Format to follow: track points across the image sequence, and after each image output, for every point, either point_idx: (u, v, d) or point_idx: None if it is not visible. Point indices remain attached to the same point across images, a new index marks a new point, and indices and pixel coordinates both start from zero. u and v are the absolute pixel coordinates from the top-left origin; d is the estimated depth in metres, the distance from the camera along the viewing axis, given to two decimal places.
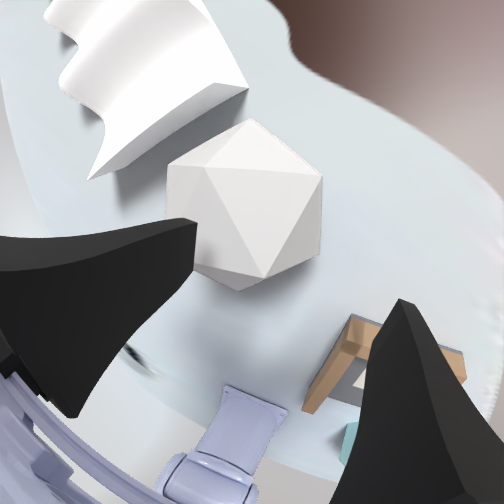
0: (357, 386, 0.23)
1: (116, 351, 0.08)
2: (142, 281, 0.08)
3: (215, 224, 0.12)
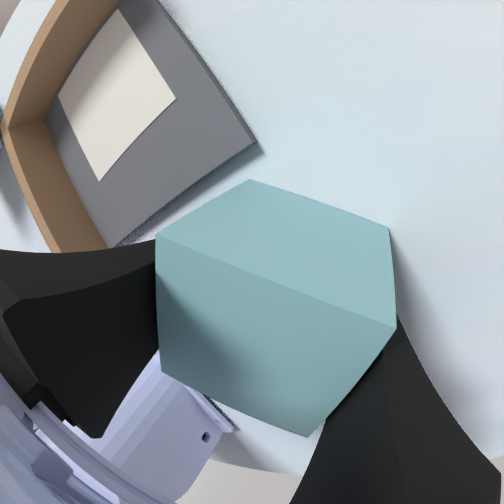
0: (103, 174, 0.12)
1: (142, 368, 0.07)
2: None
3: None
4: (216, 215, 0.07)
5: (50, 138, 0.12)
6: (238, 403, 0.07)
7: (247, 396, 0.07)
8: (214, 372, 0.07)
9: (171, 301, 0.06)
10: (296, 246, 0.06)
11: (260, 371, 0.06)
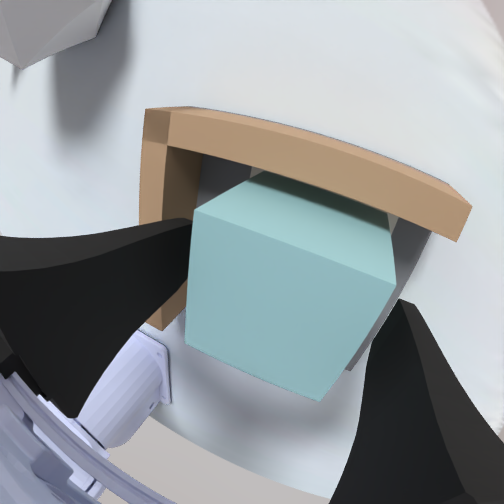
0: None
1: (116, 351, 0.08)
2: (142, 281, 0.08)
3: None
4: (242, 197, 0.08)
5: (198, 169, 0.12)
6: (257, 369, 0.09)
7: (267, 359, 0.08)
8: (238, 338, 0.08)
9: (203, 270, 0.08)
10: (311, 223, 0.07)
11: (281, 332, 0.07)
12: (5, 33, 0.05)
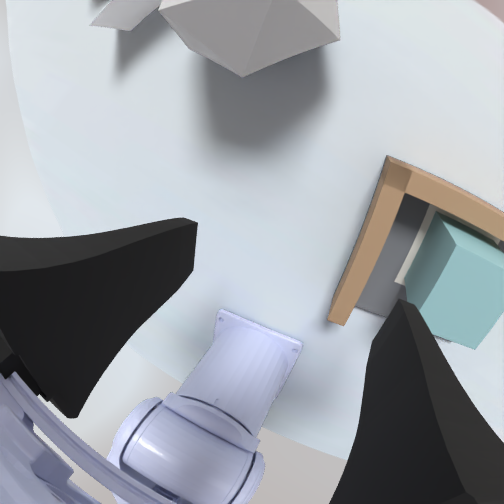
0: (401, 283, 0.17)
1: (116, 351, 0.08)
2: (142, 281, 0.08)
3: None
4: (457, 235, 0.12)
5: None
6: (451, 333, 0.12)
7: (459, 326, 0.12)
8: (450, 314, 0.12)
9: (448, 277, 0.11)
10: (486, 250, 0.11)
11: (474, 307, 0.11)
12: (250, 33, 0.09)
